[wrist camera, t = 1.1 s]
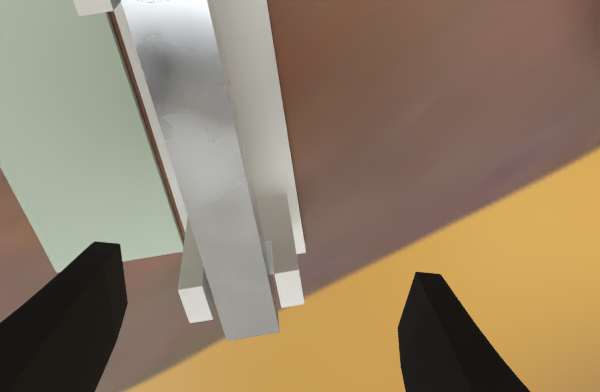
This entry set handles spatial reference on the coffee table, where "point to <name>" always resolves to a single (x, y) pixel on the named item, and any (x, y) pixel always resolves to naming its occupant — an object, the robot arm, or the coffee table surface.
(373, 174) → the coffee table surface
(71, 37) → the mat
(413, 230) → the coffee table surface
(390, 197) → the coffee table surface
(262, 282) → the rail
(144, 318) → the coffee table surface
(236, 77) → the rack
